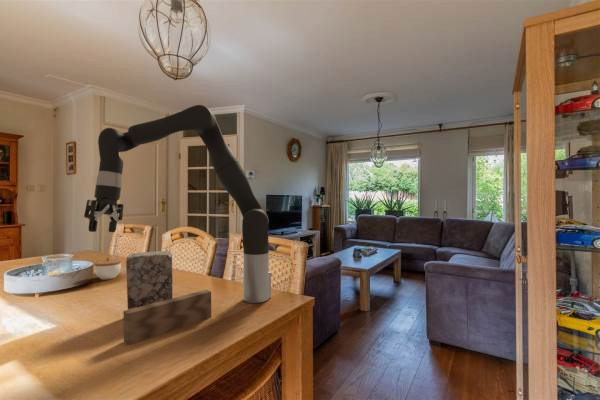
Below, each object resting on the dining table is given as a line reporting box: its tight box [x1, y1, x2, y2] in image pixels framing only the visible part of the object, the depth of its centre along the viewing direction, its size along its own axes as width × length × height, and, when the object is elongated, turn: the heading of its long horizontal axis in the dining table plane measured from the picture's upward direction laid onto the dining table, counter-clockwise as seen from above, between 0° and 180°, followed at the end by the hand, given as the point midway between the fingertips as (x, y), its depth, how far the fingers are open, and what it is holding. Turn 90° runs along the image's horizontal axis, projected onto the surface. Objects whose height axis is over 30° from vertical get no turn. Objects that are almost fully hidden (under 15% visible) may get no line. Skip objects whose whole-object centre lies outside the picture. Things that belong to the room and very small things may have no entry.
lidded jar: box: [94, 257, 122, 280], centre depth 141 cm, size 11×11×9 cm
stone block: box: [125, 250, 174, 310], centre depth 96 cm, size 13×7×20 cm, turn 118°
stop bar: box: [122, 289, 212, 346], centre depth 86 cm, size 24×3×8 cm, turn 138°
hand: (102, 231), depth 103 cm, fingers open, 8 cm apart
